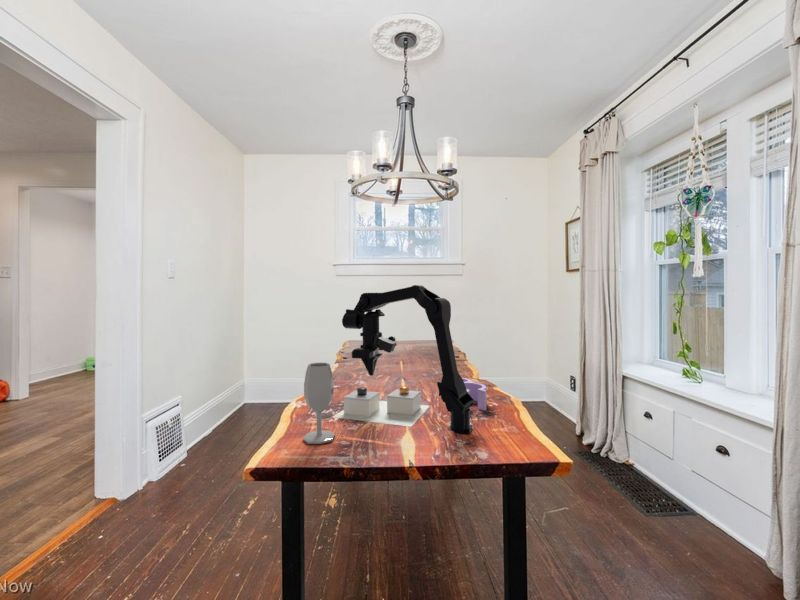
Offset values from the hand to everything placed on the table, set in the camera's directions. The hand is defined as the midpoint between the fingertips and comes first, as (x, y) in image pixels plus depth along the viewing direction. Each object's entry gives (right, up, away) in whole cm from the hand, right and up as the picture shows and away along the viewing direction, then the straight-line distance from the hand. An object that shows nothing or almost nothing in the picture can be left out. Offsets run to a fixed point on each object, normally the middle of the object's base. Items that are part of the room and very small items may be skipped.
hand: (371, 375), depth 130 cm
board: (+4, -13, 0) cm, 13 cm away
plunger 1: (-3, -12, -1) cm, 13 cm away
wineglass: (-13, -14, -23) cm, 30 cm away
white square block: (-3, -12, -1) cm, 13 cm away
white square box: (+11, -12, 0) cm, 16 cm away
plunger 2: (+11, -12, 0) cm, 16 cm away
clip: (+34, -13, +12) cm, 38 cm away
